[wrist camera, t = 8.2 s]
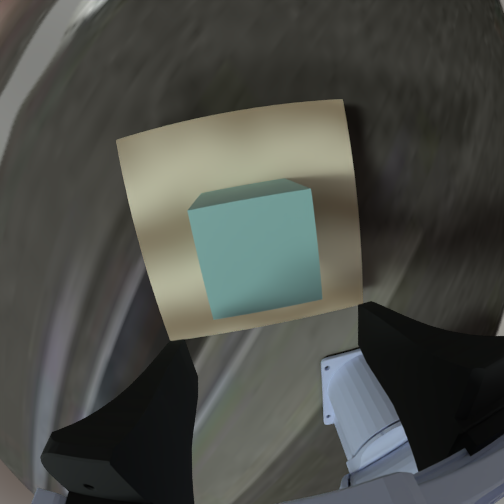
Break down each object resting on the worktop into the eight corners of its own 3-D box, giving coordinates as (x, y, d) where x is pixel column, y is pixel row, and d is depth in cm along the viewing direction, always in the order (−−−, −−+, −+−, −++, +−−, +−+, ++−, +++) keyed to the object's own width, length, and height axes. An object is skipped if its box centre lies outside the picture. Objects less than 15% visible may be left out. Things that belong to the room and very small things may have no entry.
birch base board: (350, 289, 23) (362, 303, 21) (175, 323, 23) (170, 341, 20) (329, 105, 19) (342, 99, 16) (128, 141, 18) (115, 140, 16)
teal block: (295, 257, 19) (322, 299, 13) (217, 271, 19) (213, 319, 13) (284, 178, 18) (310, 188, 12) (201, 193, 17) (187, 210, 12)
